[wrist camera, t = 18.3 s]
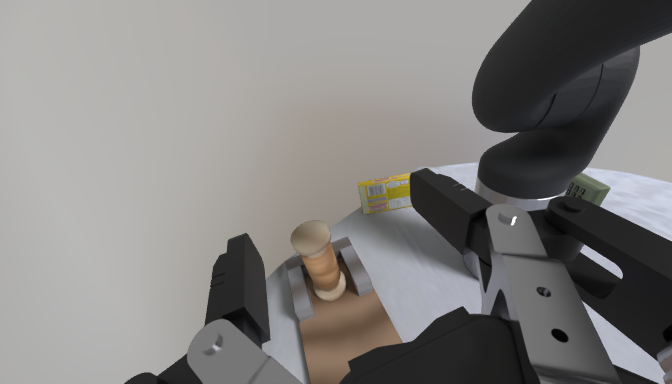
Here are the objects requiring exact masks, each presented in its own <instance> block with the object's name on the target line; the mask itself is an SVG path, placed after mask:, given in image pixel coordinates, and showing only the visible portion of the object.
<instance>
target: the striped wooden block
mask: <svg viewBox="0 0 672 384" xmlns="http://www.w3.org/2000/svg"><path fill="white" fill-rule="evenodd" d="M331 245H332V248H333V251H334V254H335V257H336V260H337V263H338V266H339V269H340V271H341V272H342V273H343V274H344V276H345V279H346V284H347V285H346V290H345V292H344V294H343V295H342V296H341V297H340V298H338V299H337V300H334V301H330V302H327V301H323V300H321V299H319V298H318V297H317V295H316V293H315V291H314V288H313V281H312V279H311V277H310V275H309V272H308V270H307V268H306V266H305V264H304V262H303V260H302V258H301V255H299V256H297V257H294V258H292V259H289V260H287V261H286V266H287V272H288V277H289V282H290V288H291V293H292V298H293V304H294V309H295V313H296V315H297V317H298V321H299V326H300V331H301V336H302V341H303V346H304V352H305V357H306V362H307V367H308V372H309V377H310V382H311V384H339V382H340V381H341V380H342V379H343V378H344V376H345V375H346V374H348V373H349V372H350V368H349V365H348V361H350V360H352V359H354V358H356V357H358V356H360V355H362V354H364V353H366V352H368V351H370V350H372V349H375V348H377V347H381V346H387V345H394V344H400V343H403V342H402V341H401V339H400V337H399V335H398V333H397V331H396V329H395V327H394V326H393V324H392V322H391V320H390V318H389V316H388V314H387V312H386V311H385V309H384V307H383V305H382V303H381V301H380V299H379V297H378V296H377V294H376V292H375V290H374V288H373V286H372V283H371V279H370V277H369V276H368V274H367V272H366V270H365V268H364V266H363V264H362V263H361V261H360V259H359V257H358V255H357V253H356V251H355V250H354V248H353V246H352V244H351V242H350V240H349V239H348V237H345V238H342V239H340V240H337V241H335V242H332V243H331Z"/></svg>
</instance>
